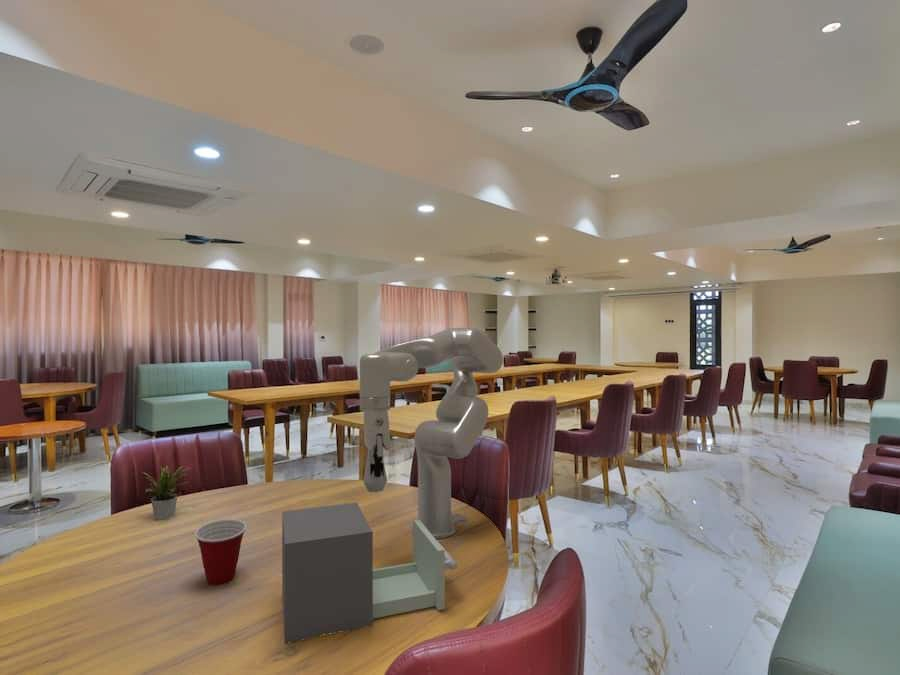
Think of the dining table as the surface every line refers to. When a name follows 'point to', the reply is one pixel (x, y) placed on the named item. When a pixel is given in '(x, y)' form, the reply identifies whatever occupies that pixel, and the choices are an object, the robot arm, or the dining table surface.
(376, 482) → the salt shaker
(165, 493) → the house plant
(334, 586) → the cabinet
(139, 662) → the dining table surface
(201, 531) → the plastic cup
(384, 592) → the drawer
